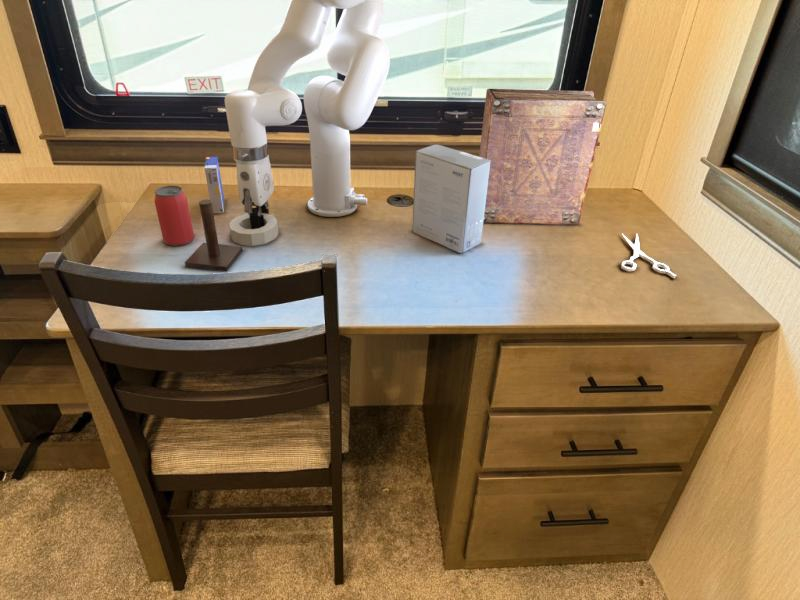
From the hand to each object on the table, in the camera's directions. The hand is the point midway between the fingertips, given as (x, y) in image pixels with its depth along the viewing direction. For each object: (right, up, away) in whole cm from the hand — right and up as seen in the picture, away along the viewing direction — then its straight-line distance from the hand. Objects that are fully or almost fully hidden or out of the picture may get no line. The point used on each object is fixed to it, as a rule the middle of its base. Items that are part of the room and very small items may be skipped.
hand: (260, 226), depth 131 cm
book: (+65, +4, +10) cm, 66 cm away
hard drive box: (+44, -3, -1) cm, 44 cm away
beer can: (-17, -4, -6) cm, 18 cm away
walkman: (-13, +6, +9) cm, 17 cm away
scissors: (+87, -7, -4) cm, 88 cm away
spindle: (-7, -9, -13) cm, 17 cm away
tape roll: (-1, -2, -3) cm, 4 cm away
